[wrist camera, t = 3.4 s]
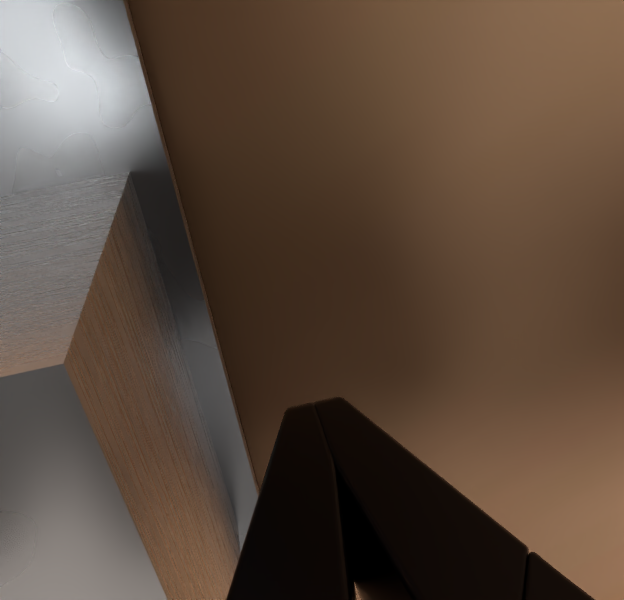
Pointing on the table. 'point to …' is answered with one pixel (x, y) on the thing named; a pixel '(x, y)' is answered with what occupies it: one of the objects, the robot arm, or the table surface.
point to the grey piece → (113, 172)
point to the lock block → (100, 412)
